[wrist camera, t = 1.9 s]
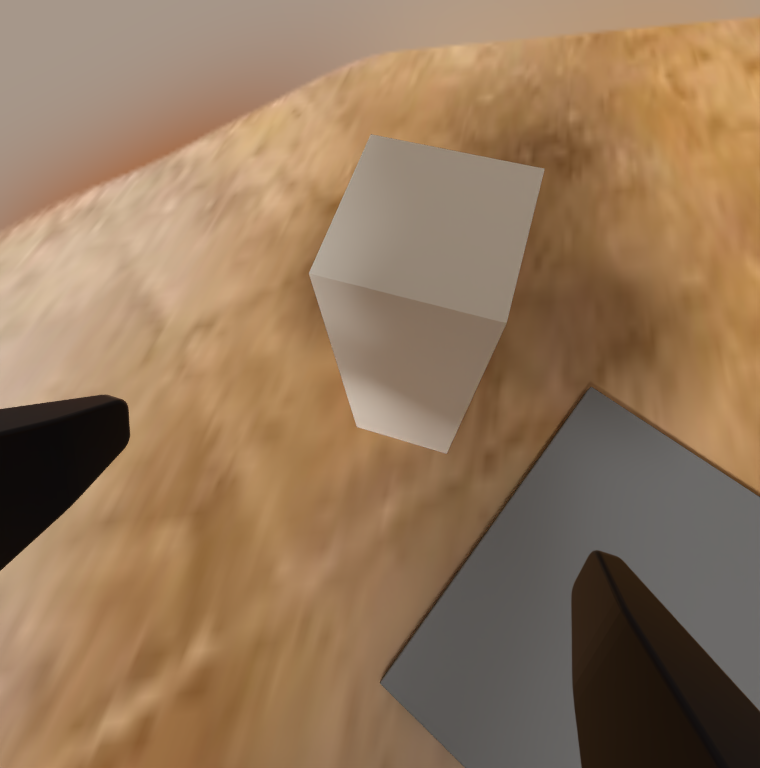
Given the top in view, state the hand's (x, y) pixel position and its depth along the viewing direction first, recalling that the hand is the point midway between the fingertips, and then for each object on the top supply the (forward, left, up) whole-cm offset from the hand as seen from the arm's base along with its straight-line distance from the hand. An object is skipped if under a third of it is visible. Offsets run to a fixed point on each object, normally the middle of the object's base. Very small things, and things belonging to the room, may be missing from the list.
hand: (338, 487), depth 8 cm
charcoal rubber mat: (+8, -9, -12) cm, 18 cm away
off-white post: (+4, +5, -13) cm, 14 cm away
